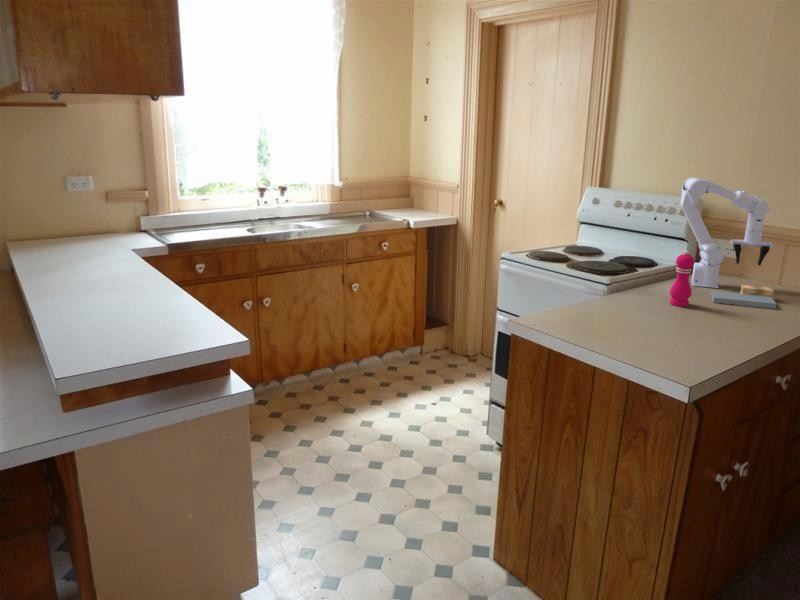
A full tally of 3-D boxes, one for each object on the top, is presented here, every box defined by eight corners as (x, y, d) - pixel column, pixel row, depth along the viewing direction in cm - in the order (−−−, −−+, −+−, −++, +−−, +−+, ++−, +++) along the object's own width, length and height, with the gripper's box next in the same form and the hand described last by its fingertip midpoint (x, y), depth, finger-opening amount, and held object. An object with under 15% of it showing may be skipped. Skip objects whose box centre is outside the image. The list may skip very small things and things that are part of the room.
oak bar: (741, 299, 236) (743, 287, 234) (739, 296, 240) (741, 284, 239) (771, 302, 232) (773, 290, 231) (769, 298, 237) (771, 287, 236)
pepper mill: (668, 305, 226) (675, 251, 220) (668, 300, 232) (675, 247, 226) (690, 308, 223) (698, 253, 217) (689, 302, 229) (697, 249, 224)
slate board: (713, 302, 230) (714, 297, 229) (710, 295, 239) (711, 290, 238) (775, 309, 223) (776, 303, 223) (770, 301, 232) (771, 296, 232)
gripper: (734, 230, 245) (729, 264, 248) (777, 233, 240) (770, 267, 244) (732, 227, 251) (727, 260, 255) (773, 230, 246) (767, 264, 250)
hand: (748, 264), depth 250 cm, fingers open, 7 cm apart
